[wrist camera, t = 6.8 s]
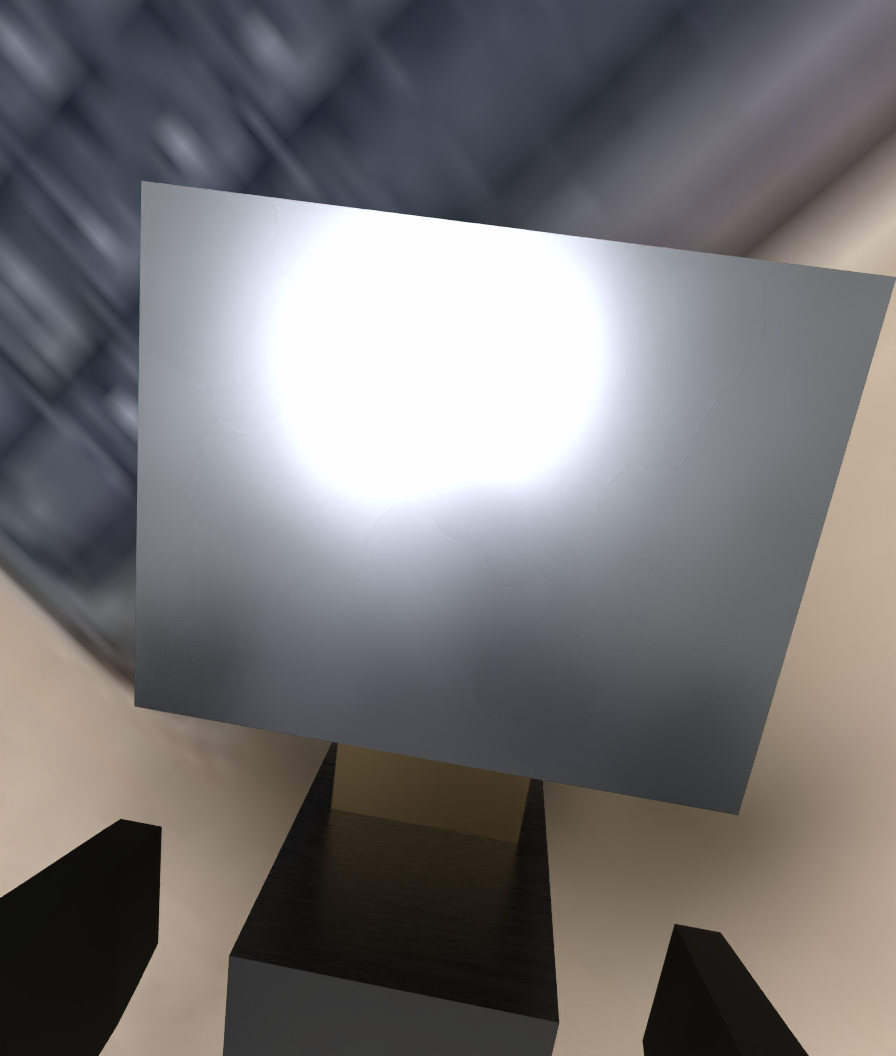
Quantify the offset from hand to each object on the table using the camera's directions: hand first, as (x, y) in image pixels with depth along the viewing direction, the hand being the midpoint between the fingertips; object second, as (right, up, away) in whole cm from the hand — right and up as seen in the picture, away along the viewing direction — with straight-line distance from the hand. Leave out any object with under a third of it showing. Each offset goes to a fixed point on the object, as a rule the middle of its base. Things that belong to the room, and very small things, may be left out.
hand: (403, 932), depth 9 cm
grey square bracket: (+1, +7, +2) cm, 7 cm away
